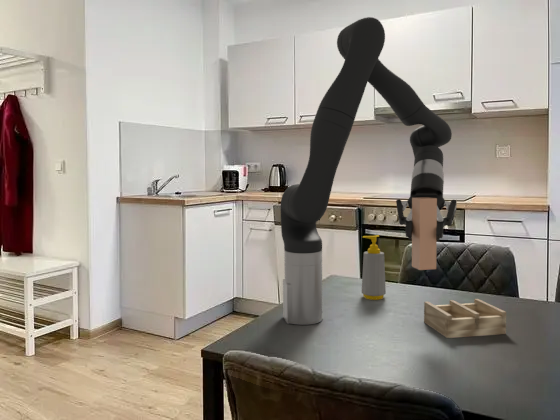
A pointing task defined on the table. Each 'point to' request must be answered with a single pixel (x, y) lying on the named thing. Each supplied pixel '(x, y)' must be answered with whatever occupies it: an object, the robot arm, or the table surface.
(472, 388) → the table surface
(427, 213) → the clay bar
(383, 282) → the soap bottle
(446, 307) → the rack
